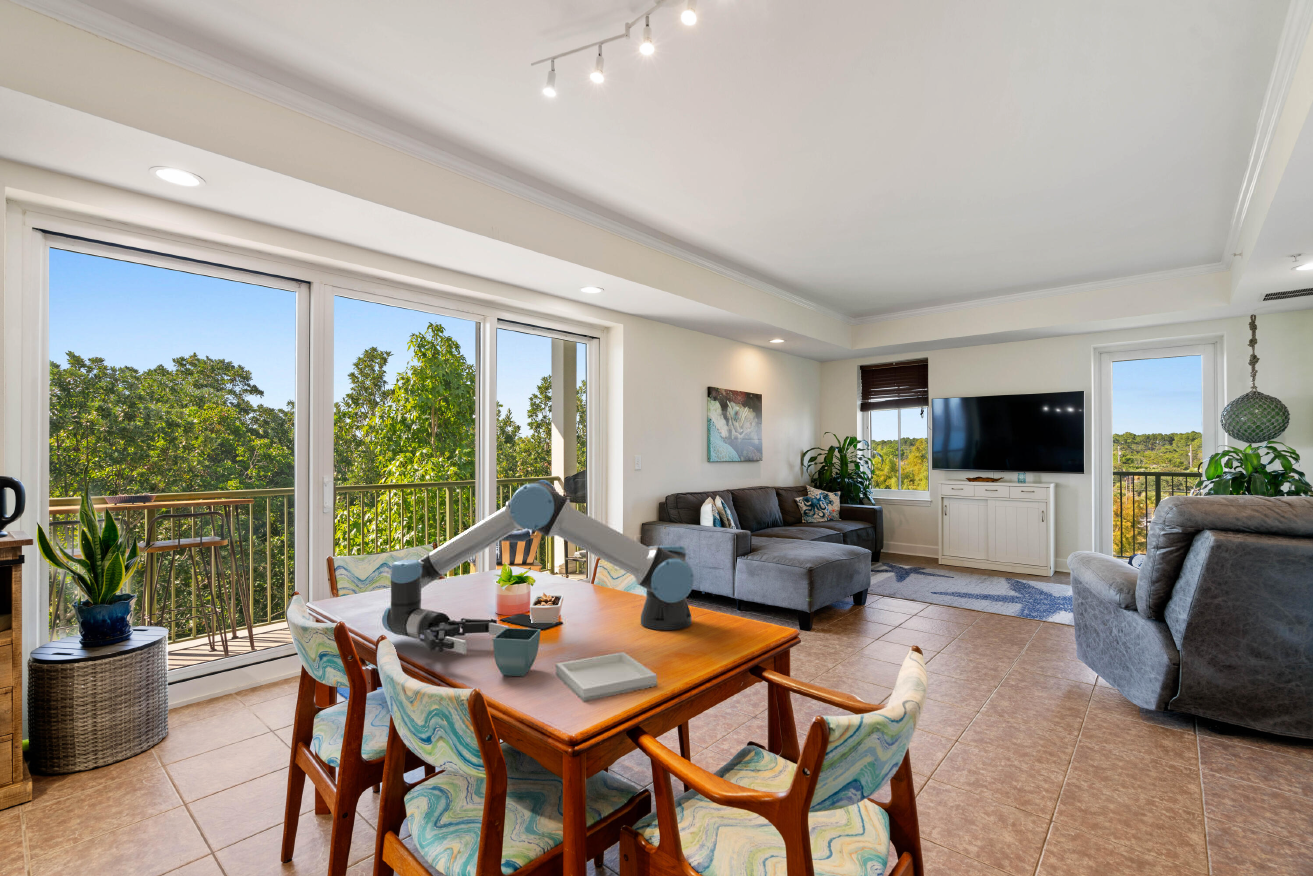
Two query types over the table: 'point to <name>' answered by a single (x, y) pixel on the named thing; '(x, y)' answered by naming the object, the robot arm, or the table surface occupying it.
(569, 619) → the table surface
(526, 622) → the cell phone
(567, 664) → the tray
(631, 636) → the table surface
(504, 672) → the flower pot
